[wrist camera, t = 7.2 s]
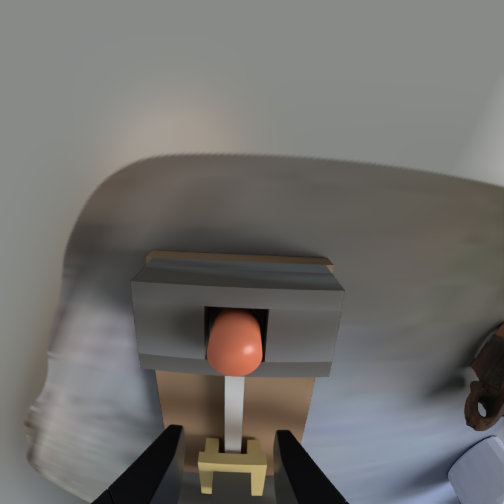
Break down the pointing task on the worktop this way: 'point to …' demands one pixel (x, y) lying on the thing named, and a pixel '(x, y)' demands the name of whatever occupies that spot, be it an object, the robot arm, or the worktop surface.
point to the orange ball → (235, 342)
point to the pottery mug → (487, 384)
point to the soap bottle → (480, 473)
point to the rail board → (272, 339)
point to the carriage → (232, 473)
